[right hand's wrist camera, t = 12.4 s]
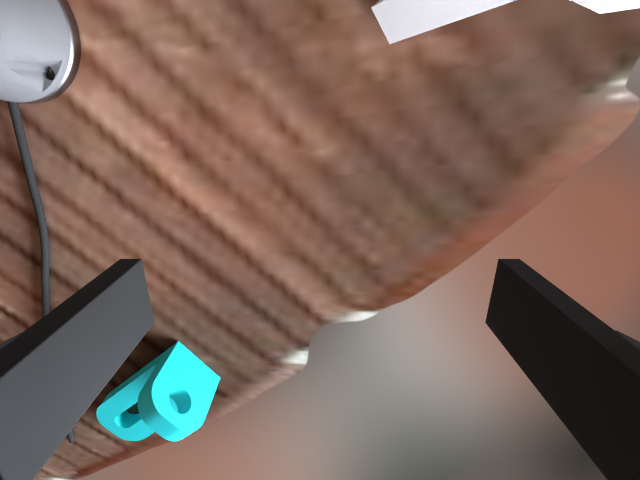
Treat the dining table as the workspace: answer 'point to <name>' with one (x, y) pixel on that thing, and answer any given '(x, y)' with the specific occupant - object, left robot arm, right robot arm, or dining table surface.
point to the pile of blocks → (455, 13)
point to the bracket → (161, 398)
